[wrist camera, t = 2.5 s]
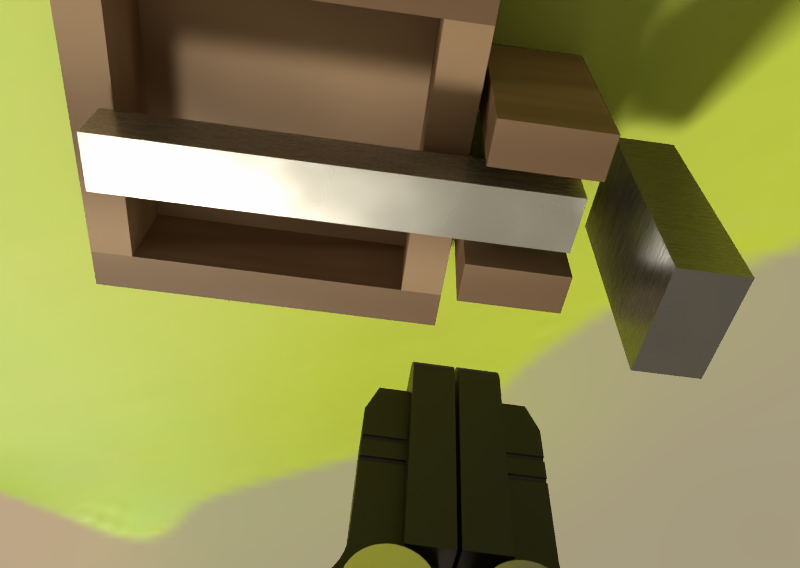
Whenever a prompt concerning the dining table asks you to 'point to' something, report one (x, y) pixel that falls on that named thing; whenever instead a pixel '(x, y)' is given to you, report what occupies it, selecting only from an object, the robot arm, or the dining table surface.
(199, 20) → the dock
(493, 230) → the pin
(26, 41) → the dining table surface
